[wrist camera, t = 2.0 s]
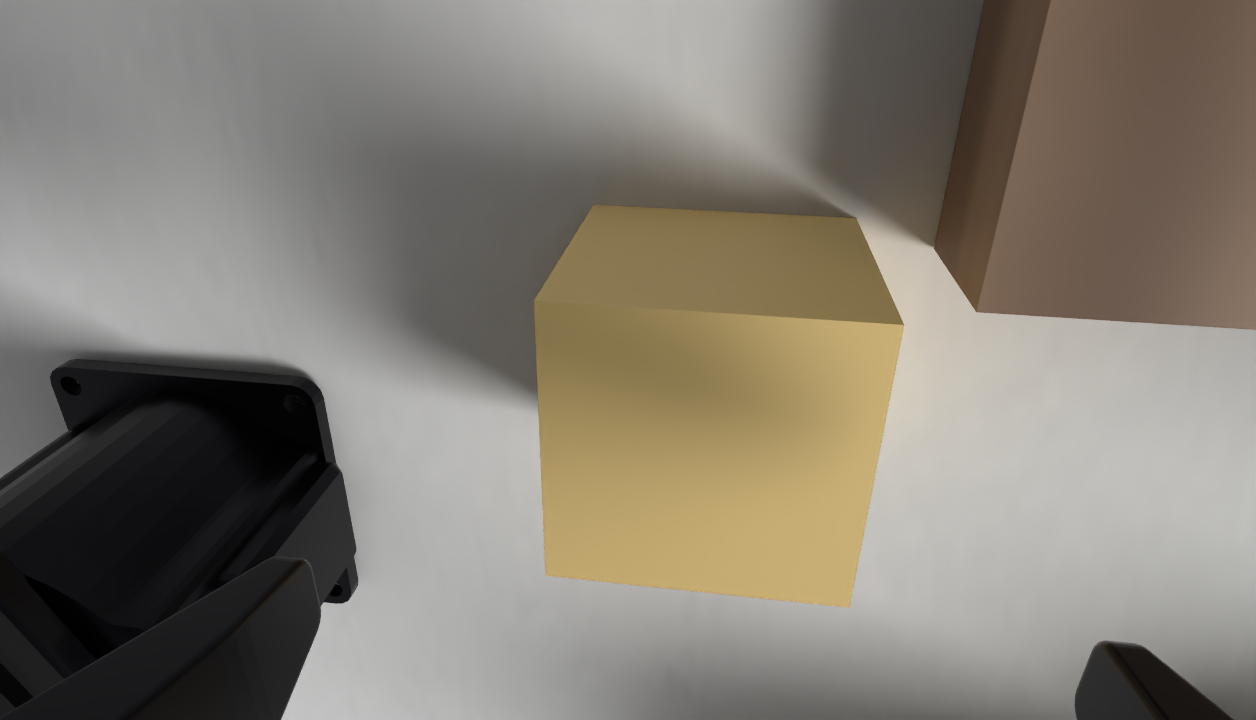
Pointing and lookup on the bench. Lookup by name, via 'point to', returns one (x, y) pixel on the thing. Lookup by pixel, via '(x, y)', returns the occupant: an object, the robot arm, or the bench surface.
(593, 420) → the ochre cube
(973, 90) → the walnut base
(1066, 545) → the bench surface
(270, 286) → the bench surface
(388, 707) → the bench surface
